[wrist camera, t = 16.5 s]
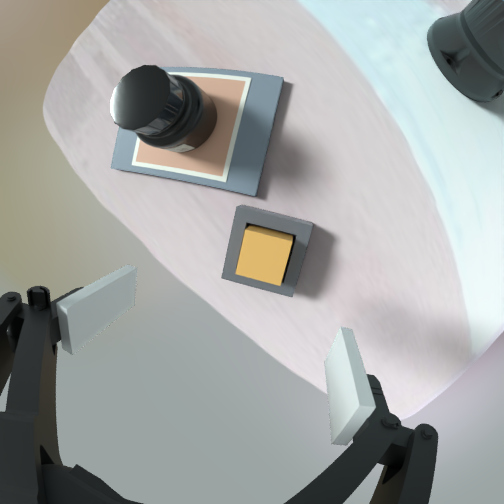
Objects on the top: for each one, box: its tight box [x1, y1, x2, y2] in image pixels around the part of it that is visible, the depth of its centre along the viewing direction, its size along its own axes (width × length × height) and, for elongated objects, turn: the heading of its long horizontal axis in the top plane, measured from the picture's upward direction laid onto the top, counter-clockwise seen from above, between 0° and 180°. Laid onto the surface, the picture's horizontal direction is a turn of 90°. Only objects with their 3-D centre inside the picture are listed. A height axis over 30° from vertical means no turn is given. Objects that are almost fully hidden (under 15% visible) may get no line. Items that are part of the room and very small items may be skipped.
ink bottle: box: [110, 65, 217, 153], centre depth 26 cm, size 10×9×12 cm
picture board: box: [111, 67, 284, 196], centre depth 32 cm, size 22×16×1 cm
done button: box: [235, 224, 293, 286], centre depth 32 cm, size 5×5×4 cm
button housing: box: [222, 205, 313, 297], centre depth 34 cm, size 9×9×4 cm
